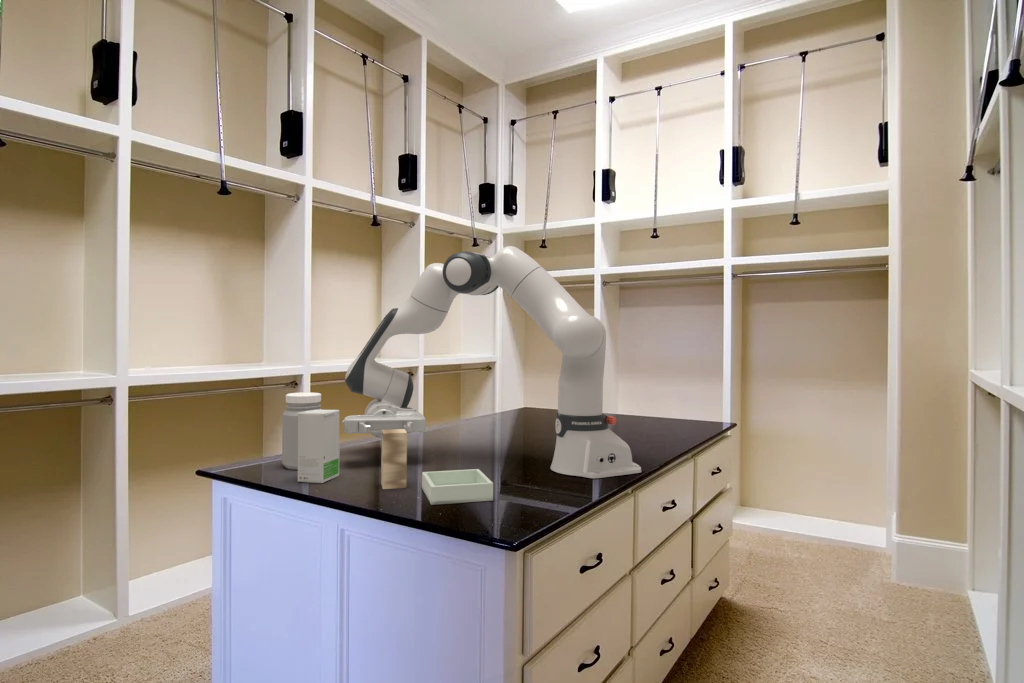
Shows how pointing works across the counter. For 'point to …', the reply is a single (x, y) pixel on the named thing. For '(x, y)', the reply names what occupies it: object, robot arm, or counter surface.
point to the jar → (295, 424)
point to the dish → (456, 486)
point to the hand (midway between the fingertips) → (387, 429)
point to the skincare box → (318, 445)
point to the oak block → (394, 459)
